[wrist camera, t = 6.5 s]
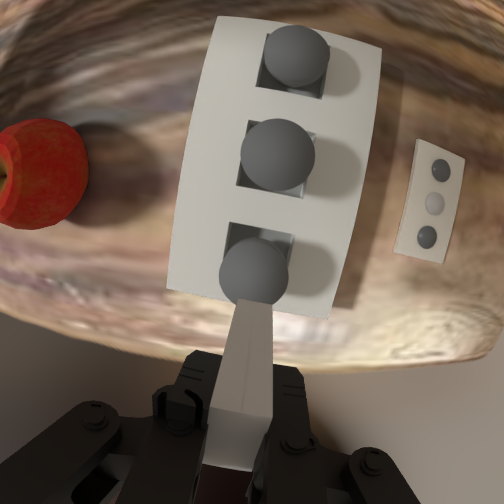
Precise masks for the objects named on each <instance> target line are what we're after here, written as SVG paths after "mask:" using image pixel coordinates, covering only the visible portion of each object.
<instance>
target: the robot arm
mask: <svg viewBox="0 0 504 504" xmlns="http://www.w3.org/2000/svg"><path fill="white" fill-rule="evenodd" d="M152 399H153V400H152V402H153V415H152V416H149V417H144V418H133V417H121V416H119V415H118V413H117V411H116V410H115V409H114V408H113V407H111V406H110V405H108V404H106V403H104V402H100V401H86V402H82V403H80V404H78V405H76V406H75V407H74V408H72V409H71V410H70V411H69V412H67V413H66V414H65V415H64V416H62V417H61V418H60V419H58V420H57V421H56V422H54V423H53V424H52V425H51V426H49V427H48V428H47V429H45V430H44V431H43V432H41V433H40V434H39V435H38V436H36V437H35V438H34V439H32V440H31V441H30V442H28V443H27V444H26V445H25V446H23V447H22V448H21V449H20V450H18V451H17V452H15V453H14V454H13V455H12V456H10V457H9V458H8V459H6V460H5V461H4V462H2V463H1V464H0V504H108V503H109V502H110V501H111V500H112V499H113V498H114V496H115V495H116V494H117V493H118V492H119V491H120V490H121V491H120V493H119V496H118V498H117V500H116V503H115V504H193V502H194V498H195V494H196V489H197V484H198V481H199V475H200V469H201V465H202V463H204V464H209V465H214V466H219V467H225V468H231V469H237V470H243V471H252V469H253V467H254V472H253V479H252V481H251V483H250V485H249V488H248V490H247V492H246V495H245V496H246V497H249V498H248V504H421V503H420V502H419V500H418V499H417V497H416V496H415V494H414V493H413V491H412V489H411V488H410V486H409V485H408V483H407V482H406V480H405V478H404V477H403V475H402V474H401V472H400V471H399V469H398V468H397V466H396V465H395V463H394V461H393V460H392V459H391V457H390V456H389V455H388V454H387V453H385V452H384V451H382V450H380V449H377V448H373V447H364V448H360V449H358V450H356V451H354V453H353V454H352V455H347V454H344V453H340V452H336V451H333V450H330V449H327V448H325V447H324V446H322V445H321V444H320V443H319V441H318V439H317V437H315V435H314V434H313V433H312V432H311V430H310V422H309V414H308V406H307V398H306V392H305V384H304V377H303V376H302V374H301V373H300V372H299V370H298V369H297V367H290V366H283V365H277V364H273V317H272V305H270V304H265V303H259V302H254V301H249V300H244V299H239V298H238V300H237V304H236V308H235V312H234V315H233V319H232V323H231V327H230V331H229V334H228V338H227V342H226V346H225V350H224V353H223V356H222V355H217V354H213V353H208V352H204V351H199V350H195V351H194V352H192V353H191V354H190V355H188V356H187V357H186V359H185V361H184V364H183V366H182V368H181V370H180V373H179V376H178V377H177V380H176V382H175V384H174V385H167V386H164V387H162V388H160V389H158V390H157V391H156V392H155V393H154V394H153V395H152ZM121 488H122V489H121Z"/></svg>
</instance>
